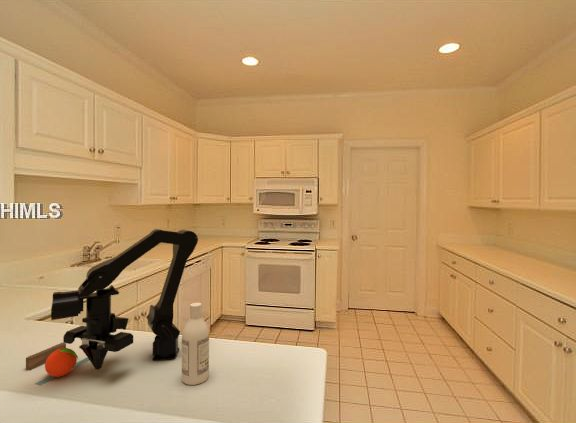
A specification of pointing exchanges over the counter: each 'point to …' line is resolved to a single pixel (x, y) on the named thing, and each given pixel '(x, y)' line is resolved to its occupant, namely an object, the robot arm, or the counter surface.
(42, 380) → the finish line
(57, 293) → the robot arm
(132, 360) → the counter surface
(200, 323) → the bath foam
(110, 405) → the counter surface
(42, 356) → the rail
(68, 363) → the clementine
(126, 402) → the counter surface
